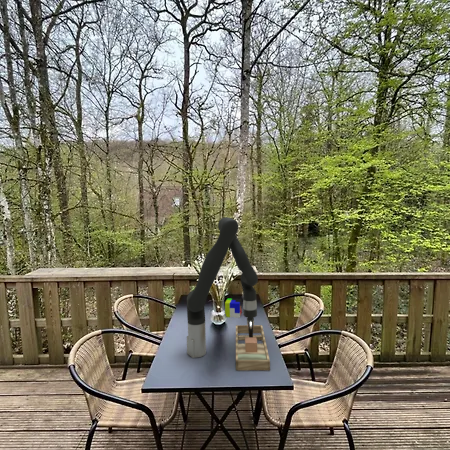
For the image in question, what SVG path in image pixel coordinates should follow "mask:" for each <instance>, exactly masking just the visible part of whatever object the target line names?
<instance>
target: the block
mask: <svg viewBox="0 0 450 450" xmlns="http://www.w3.org/2000/svg"><path fill="white" fill-rule="evenodd" d="M244 344H245V350H246V352H257V344H258V340H257V338H256V337H245V340H244Z"/></svg>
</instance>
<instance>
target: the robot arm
mask: <svg viewBox="0 0 450 450" xmlns="http://www.w3.org/2000/svg"><path fill="white" fill-rule="evenodd" d="M217 228H218V230H219V234H218V237H217V240H216V242H215V243H214V245H213V246H212V247H211V248H210V250H209V251H208V252H207V254H206V256H205V258H204V260H203V262H202V265H201V268H200V271H199V275H198V280H197V283H196V285H195V287H194V288H193V289H194V290H191V291H190V292H189V293H188V294H187V295H186V314H187V315H186V316H187V317H186V318H187V336H186V354H187V355H188V356H190V357H191V358H192V359H196V358H201V357H204V356H206V354H207V338H206V337H207V336H206V334H207V333H206V311H205V306H206V302H207V299H208V295H209V293H210V290H211V288H212V286H213V284H214V282H215V280H216V278H217V276H218V274H219V271H220V270H221V268H222V265H223V262H224V260H225V257H226V255H227V254H228V251H229V250H230V251H231V254H232V257H233V259H234V261H235V264H236V267H237V268H238V270H239V271H240V272H241V275H240V283H241V288H242V292H243V296H242V300H243V302H242V311H243V312H242V313H243V317H244V318H246V325H247V326H248V331H249V333H248V335H249V337H253V335H254V333H253V328H254V325H255V318H256V317H257V316H258V302H257V290H256V289H255V287H254V286H256V285H257V283H258V282H259V280H258V279H259V278H258V277H259V276H258V274H257V272H256V271H255V269H254V267H253V266H252V264H251V262H250V259H249V257H248V255H247V253H246V250H245V249H244V247H243V245H242V244H241V241H240V240H239V238H238V235H237V234H238V230H239V223H238V221H237V220H235V218H232V217H227V216H225V217H222V218H220V220H219V221H218V224H217Z"/></svg>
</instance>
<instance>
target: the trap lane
mask: <svg viewBox="0 0 450 450" xmlns="http://www.w3.org/2000/svg"><path fill="white" fill-rule="evenodd" d="M238 334H241V335H238ZM242 334H244V335H242ZM245 334H246V335H245ZM247 334H248V335H247ZM254 334H256V335H254ZM245 337H249V331H248V326H247V324H246V325H245V324H244V325H242V324H241V325H238V324H236V325H235V371H271V361H270V355H269V351H268V345H267V341H266V338H265V337H266V336H265V332H264V327H263V325H262V324H259V325H257V324H254V328H253V337H256V338H257V341H261V342H262V343H257V352H246V350H245V343H239V341H245Z"/></svg>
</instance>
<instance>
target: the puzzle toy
mask: <svg viewBox="0 0 450 450" xmlns="http://www.w3.org/2000/svg"><path fill="white" fill-rule="evenodd" d="M242 311H243V302H242V298H227V299H226V300H225V302H224V315H225V314H226V316H227V317H226V318H232V317H234V318H233V319H240V318H241V315H242V313H243V312H242Z"/></svg>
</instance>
